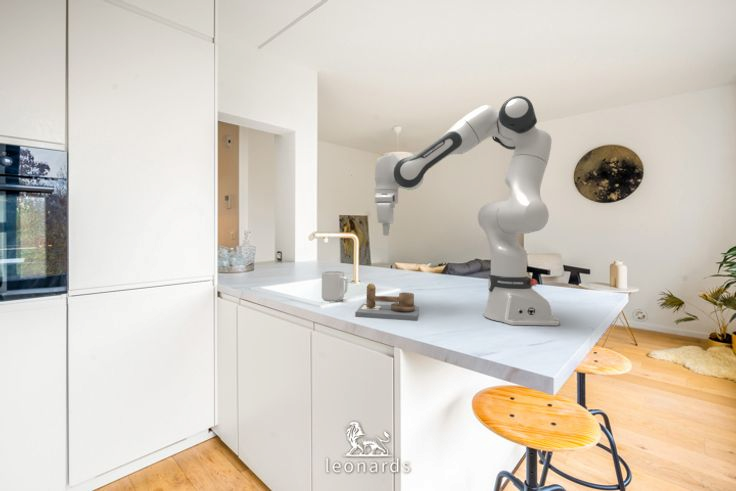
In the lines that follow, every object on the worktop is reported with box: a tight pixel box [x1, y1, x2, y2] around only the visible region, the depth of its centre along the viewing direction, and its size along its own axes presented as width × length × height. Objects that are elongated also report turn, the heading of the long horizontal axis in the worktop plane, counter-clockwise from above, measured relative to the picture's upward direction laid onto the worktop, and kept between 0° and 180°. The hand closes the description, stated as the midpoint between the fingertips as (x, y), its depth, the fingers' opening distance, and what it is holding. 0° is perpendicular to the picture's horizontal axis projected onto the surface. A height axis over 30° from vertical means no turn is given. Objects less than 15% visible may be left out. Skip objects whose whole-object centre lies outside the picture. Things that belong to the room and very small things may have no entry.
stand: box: [354, 303, 420, 321], centre depth 117 cm, size 20×13×2 cm, turn 80°
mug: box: [321, 270, 349, 303], centre depth 137 cm, size 12×9×11 cm
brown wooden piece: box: [365, 283, 416, 312], centre depth 117 cm, size 16×8×8 cm, turn 85°
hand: (386, 235), depth 131 cm, fingers closed
